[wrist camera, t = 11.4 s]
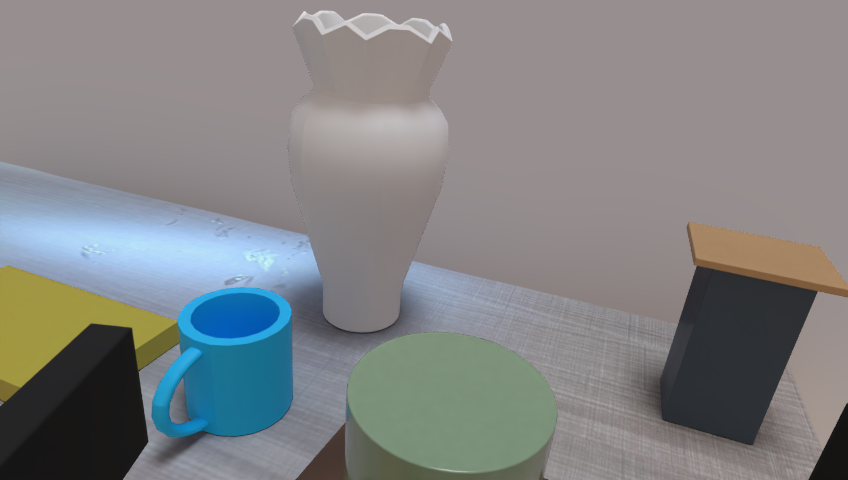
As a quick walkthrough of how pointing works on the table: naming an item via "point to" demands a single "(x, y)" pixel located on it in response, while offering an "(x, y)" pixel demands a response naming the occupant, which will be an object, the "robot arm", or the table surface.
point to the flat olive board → (63, 325)
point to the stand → (739, 327)
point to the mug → (230, 364)
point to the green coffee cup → (447, 412)
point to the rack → (328, 460)
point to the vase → (367, 156)
